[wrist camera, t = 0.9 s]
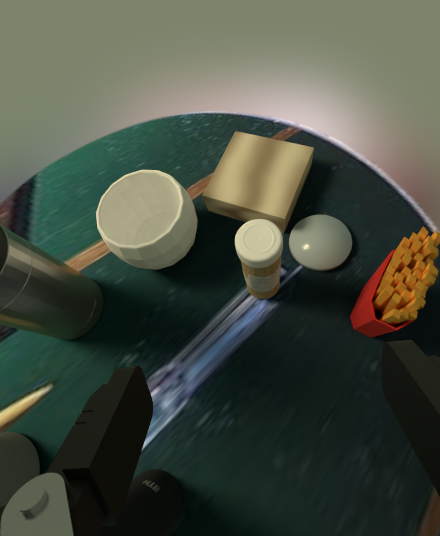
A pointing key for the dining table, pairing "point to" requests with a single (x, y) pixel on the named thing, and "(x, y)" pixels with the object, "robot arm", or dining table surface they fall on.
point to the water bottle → (16, 464)
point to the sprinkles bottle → (260, 256)
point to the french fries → (397, 287)
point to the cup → (147, 219)
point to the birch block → (258, 179)
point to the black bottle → (149, 507)
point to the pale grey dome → (320, 243)
